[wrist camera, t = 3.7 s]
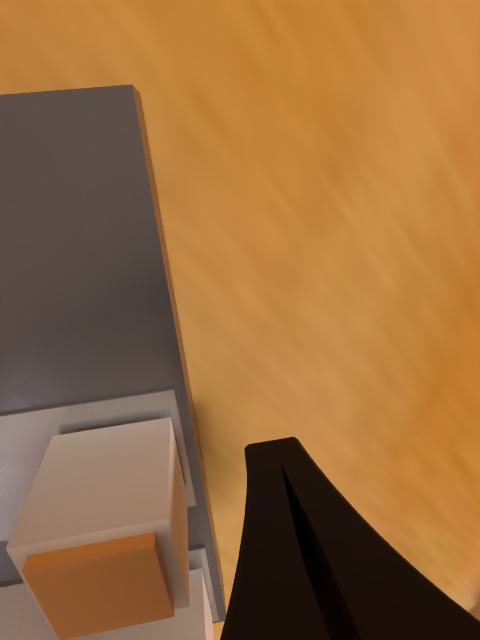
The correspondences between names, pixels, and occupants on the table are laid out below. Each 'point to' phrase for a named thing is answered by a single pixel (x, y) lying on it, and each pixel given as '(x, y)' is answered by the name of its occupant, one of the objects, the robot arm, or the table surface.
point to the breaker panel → (86, 310)
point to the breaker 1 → (106, 530)
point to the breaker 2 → (176, 619)
